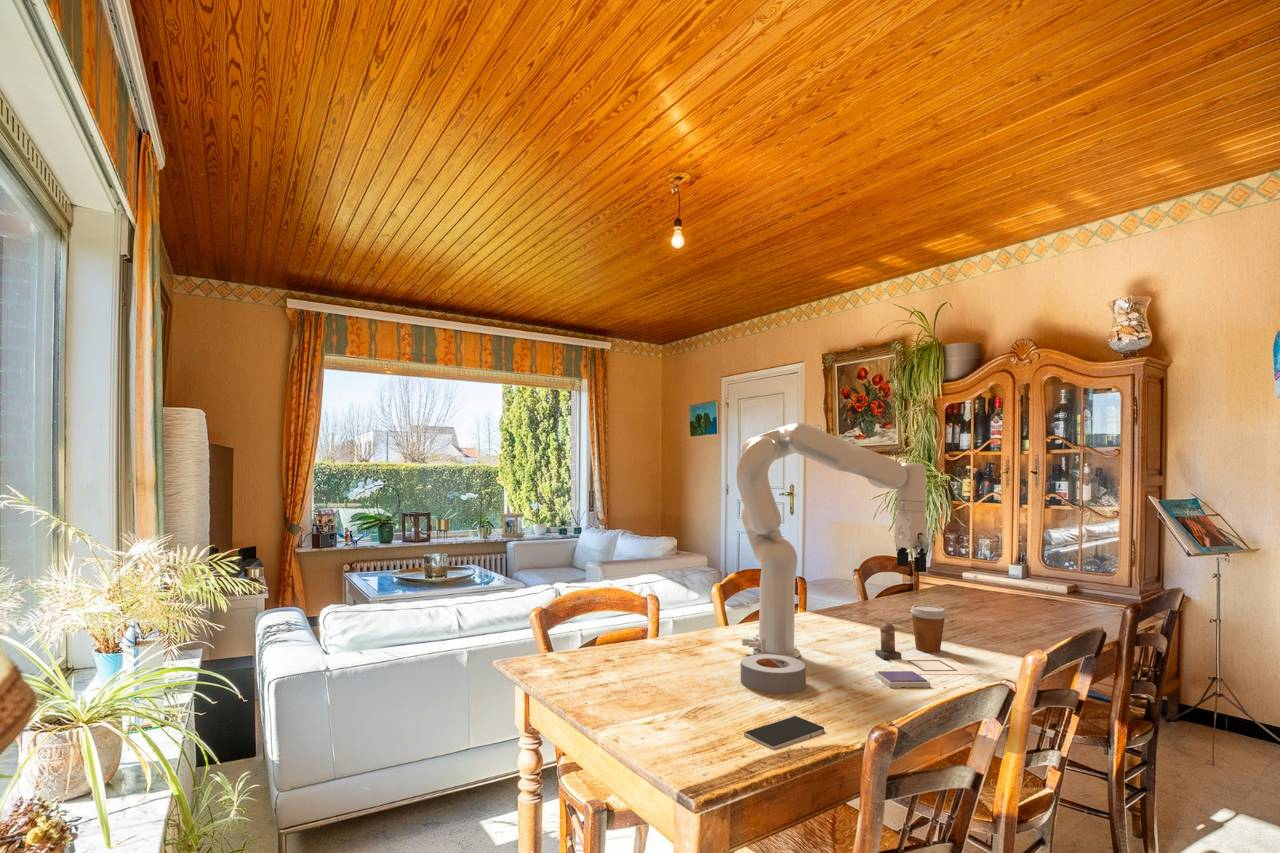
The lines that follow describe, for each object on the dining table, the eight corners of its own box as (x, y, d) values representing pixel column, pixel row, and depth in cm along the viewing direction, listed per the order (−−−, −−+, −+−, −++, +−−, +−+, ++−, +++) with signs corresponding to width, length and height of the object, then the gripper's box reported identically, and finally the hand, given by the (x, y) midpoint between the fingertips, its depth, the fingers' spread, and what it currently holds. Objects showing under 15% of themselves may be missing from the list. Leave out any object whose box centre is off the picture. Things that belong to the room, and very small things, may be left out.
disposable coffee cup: (952, 655, 190) (952, 612, 191) (917, 654, 191) (917, 611, 191) (937, 646, 200) (938, 604, 201) (904, 645, 200) (905, 604, 201)
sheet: (911, 675, 172) (911, 673, 172) (886, 659, 186) (886, 657, 186) (979, 674, 174) (979, 673, 174) (949, 658, 188) (949, 657, 188)
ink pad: (889, 687, 162) (889, 681, 162) (874, 676, 170) (874, 670, 170) (930, 687, 163) (930, 681, 163) (913, 676, 171) (913, 670, 171)
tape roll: (726, 681, 165) (727, 660, 165) (768, 670, 174) (768, 649, 175) (778, 700, 153) (778, 676, 153) (819, 686, 163) (819, 664, 163)
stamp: (883, 659, 184) (882, 624, 186) (875, 655, 189) (874, 621, 190) (901, 659, 185) (900, 624, 186) (892, 655, 190) (891, 621, 191)
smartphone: (742, 732, 132) (794, 715, 141) (742, 738, 132) (794, 721, 141) (773, 746, 126) (826, 728, 135) (773, 753, 126) (826, 734, 135)
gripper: (884, 504, 200) (883, 564, 199) (914, 509, 182) (913, 574, 182) (908, 505, 200) (908, 564, 200) (940, 509, 183) (940, 574, 182)
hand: (911, 568), depth 191 cm, fingers open, 9 cm apart
